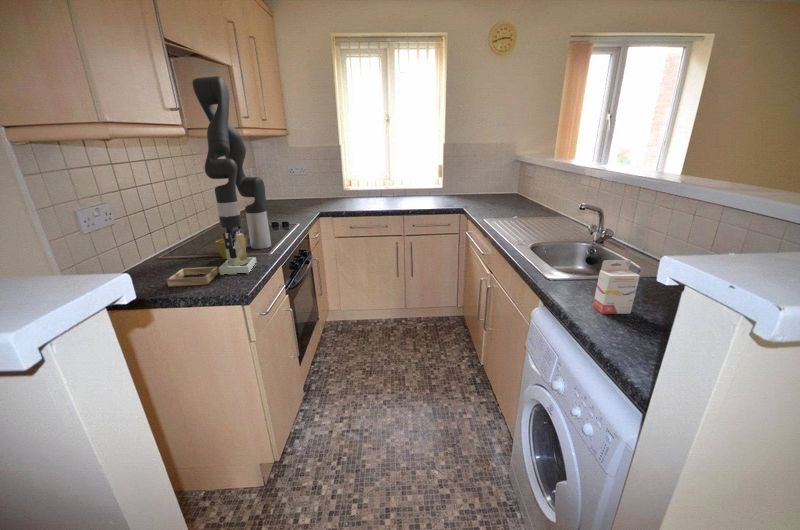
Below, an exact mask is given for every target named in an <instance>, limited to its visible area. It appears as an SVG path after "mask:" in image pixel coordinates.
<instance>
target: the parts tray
mask: <svg viewBox="0 0 800 530" xmlns="http://www.w3.org/2000/svg"><path fill="white" fill-rule="evenodd" d="M247 260H248V264H247V265H246V266H228V261H227V260H225V261H224V262H223V263H222V264H221V265H220V266H218V268H219V275H220V276H224V274H228V275H238V274H237V273H246V274H250V273H251V272H250V271H252V270H253V269H254V268H253V266H254V265H255V263H257V257H256V256H255V257H254V256H253V257H247ZM255 266H256V265H255ZM255 266H254V267H255ZM252 268H253V269H252ZM251 269H252V270H251ZM249 272H250V273H249Z"/></svg>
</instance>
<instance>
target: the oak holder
mask: <svg viewBox="0 0 800 530" xmlns="http://www.w3.org/2000/svg"><path fill="white" fill-rule="evenodd" d="M218 273H219V274H220V272H219V266H208V267H207V266H204V267H202V266H201V267H187V268H186V267H185V268H181V269H180V270H179V271H177V272H175V273H174V274H172V275H171V276H170V277H169V278H167V279H166V282H167V283H166V284H167V287H183V286H184V287H185V286H200V285H208V284H210V283H211V282H212V280H214V279H215V278H216V277H217V276H218V275H219V274H218ZM198 274H199V276H198ZM200 274H202V275H204V276H200ZM217 274H218V275H217ZM186 276H194V277H186ZM195 276H196V277H195Z"/></svg>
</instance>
